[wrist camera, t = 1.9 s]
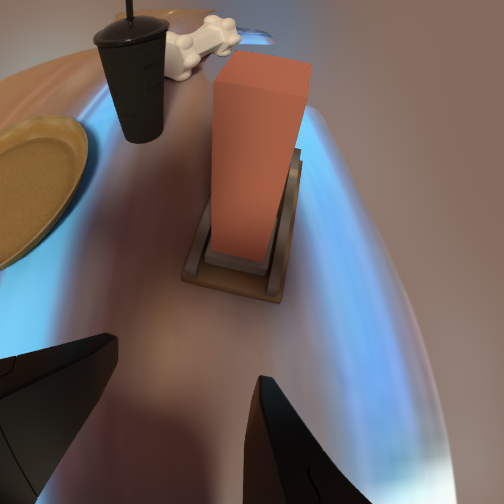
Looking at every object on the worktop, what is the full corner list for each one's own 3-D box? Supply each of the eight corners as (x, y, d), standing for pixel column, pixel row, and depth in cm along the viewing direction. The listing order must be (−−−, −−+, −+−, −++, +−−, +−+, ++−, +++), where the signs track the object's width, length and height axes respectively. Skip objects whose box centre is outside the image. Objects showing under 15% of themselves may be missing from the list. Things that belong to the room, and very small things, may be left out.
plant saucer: (-76, 241, 23) (-89, 228, 20) (24, 122, 35) (18, 106, 32) (3, 338, 20) (-18, 326, 17) (136, 154, 32) (132, 131, 29)
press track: (279, 304, 25) (289, 282, 21) (181, 281, 25) (176, 256, 21) (300, 167, 33) (309, 139, 29) (229, 151, 33) (231, 123, 30)
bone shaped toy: (188, 90, 41) (192, 43, 34) (146, 74, 41) (146, 31, 34) (239, 58, 48) (248, 20, 41) (201, 45, 49) (206, 9, 42)
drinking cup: (142, 108, 36) (131, -32, 19) (187, 124, 35) (187, -35, 18) (101, 140, 33) (71, -14, 16) (144, 159, 31) (123, -21, 14)
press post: (265, 276, 24) (316, 106, 11) (205, 262, 24) (201, 84, 11) (275, 225, 27) (319, 62, 14) (220, 213, 27) (231, 46, 14)
